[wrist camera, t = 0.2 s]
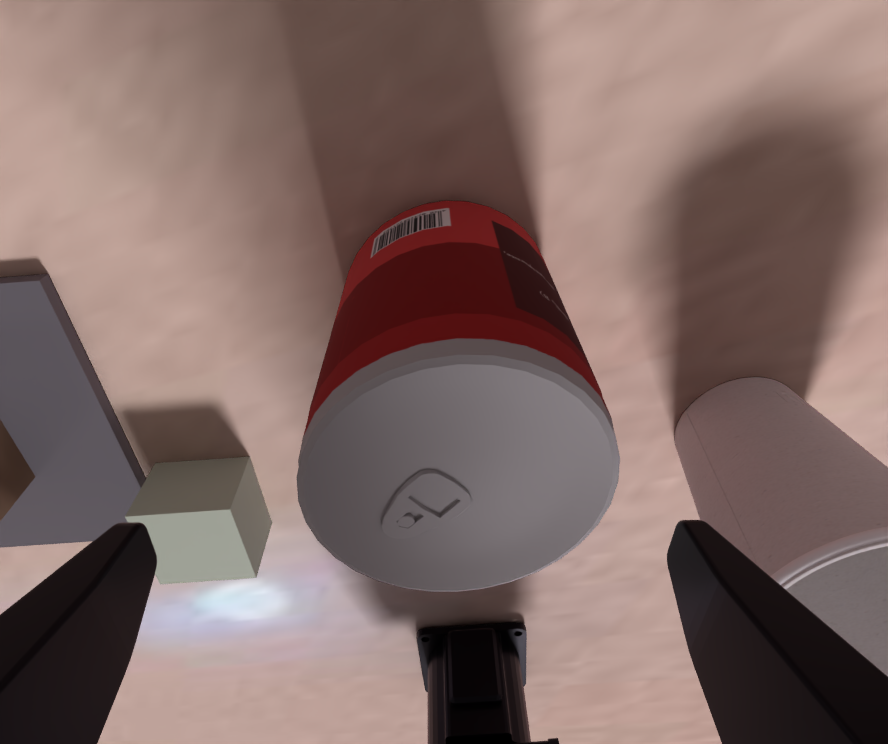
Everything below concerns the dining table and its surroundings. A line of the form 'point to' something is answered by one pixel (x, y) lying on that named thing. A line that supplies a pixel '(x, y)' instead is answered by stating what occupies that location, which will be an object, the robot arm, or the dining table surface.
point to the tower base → (11, 472)
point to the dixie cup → (794, 502)
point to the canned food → (454, 410)
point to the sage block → (204, 519)
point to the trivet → (58, 424)
